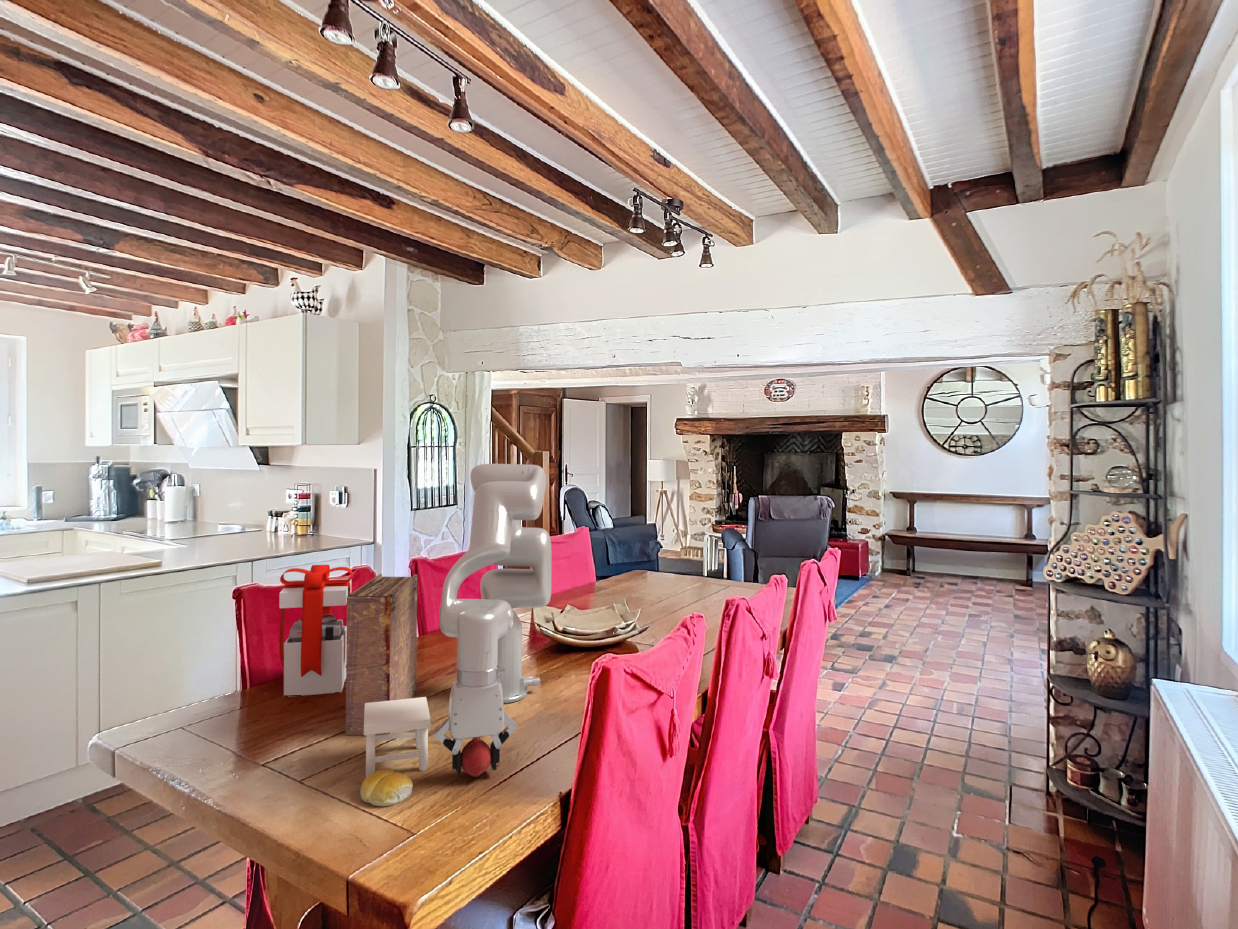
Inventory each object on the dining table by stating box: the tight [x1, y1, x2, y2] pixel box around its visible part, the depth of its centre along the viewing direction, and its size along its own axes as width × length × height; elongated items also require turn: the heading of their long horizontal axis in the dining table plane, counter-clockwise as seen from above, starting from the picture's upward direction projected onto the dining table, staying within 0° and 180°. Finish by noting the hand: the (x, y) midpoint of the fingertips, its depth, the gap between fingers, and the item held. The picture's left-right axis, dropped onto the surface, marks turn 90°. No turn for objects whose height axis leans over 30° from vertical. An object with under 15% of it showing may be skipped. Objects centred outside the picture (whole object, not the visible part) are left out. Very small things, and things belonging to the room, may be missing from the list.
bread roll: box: [359, 768, 414, 807], centre depth 122 cm, size 8×9×4 cm
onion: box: [460, 737, 492, 778], centre depth 129 cm, size 6×6×8 cm
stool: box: [363, 696, 431, 778], centre depth 135 cm, size 12×12×10 cm
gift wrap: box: [278, 564, 354, 696], centre depth 174 cm, size 17×17×30 cm
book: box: [345, 573, 418, 736], centre depth 158 cm, size 25×9×30 cm, turn 4°
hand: (475, 768), depth 129 cm, fingers closed on onion, 5 cm apart
